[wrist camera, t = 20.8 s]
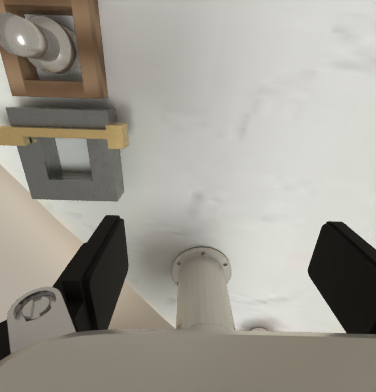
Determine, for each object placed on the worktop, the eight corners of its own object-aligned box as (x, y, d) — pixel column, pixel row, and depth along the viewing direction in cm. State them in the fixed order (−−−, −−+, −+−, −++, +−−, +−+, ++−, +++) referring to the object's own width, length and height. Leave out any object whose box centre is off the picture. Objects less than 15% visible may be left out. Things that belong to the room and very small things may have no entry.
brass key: (129, 147, 33) (123, 151, 30) (-6, 143, 33) (-24, 147, 30) (127, 122, 31) (121, 125, 29) (-14, 118, 31) (-33, 120, 28)
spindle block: (123, 191, 40) (117, 201, 37) (46, 189, 40) (32, 198, 37) (115, 109, 35) (107, 110, 31) (25, 106, 34) (5, 107, 31)
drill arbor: (85, 75, 33) (48, 68, 24) (44, 74, 33) (-8, 67, 24) (78, 25, 30) (34, -3, 22) (34, 23, 30) (-29, -5, 21)
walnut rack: (108, 98, 34) (99, 98, 31) (29, 95, 34) (12, 95, 31) (97, -3, 29) (85, -15, 26) (4, -6, 29) (-19, -19, 26)
